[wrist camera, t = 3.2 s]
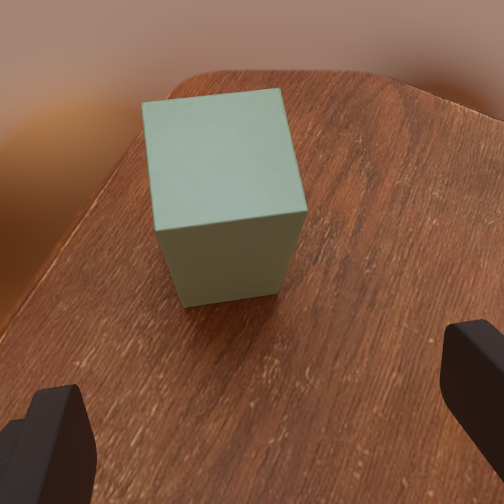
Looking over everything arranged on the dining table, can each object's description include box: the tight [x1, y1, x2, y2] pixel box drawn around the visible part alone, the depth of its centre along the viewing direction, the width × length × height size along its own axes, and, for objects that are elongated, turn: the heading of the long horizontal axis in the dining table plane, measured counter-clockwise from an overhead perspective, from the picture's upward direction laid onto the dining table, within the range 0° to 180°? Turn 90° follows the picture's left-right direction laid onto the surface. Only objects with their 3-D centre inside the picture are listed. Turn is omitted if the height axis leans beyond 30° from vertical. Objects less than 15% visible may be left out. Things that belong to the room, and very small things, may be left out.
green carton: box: [141, 88, 308, 308], centre depth 21 cm, size 5×5×10 cm
